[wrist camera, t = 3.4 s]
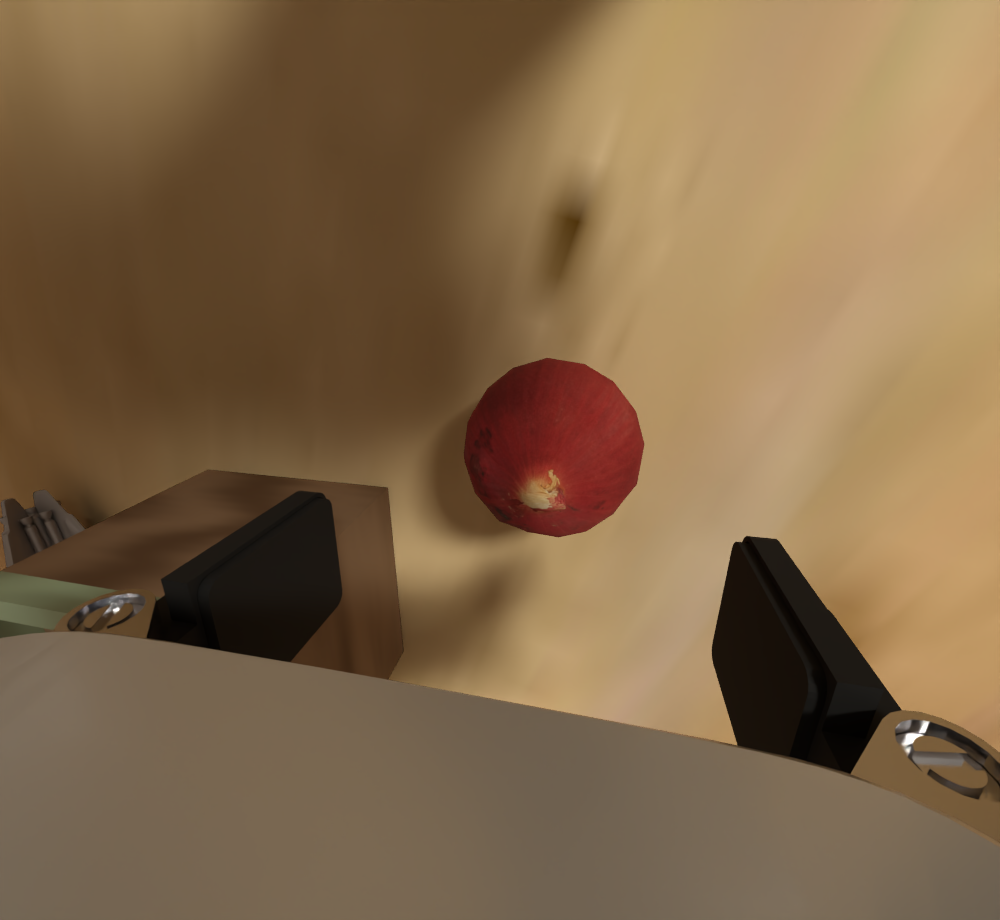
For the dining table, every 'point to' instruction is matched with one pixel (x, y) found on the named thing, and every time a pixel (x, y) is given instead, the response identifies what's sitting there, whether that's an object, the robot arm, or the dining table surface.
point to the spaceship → (35, 526)
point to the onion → (553, 448)
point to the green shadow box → (196, 527)
